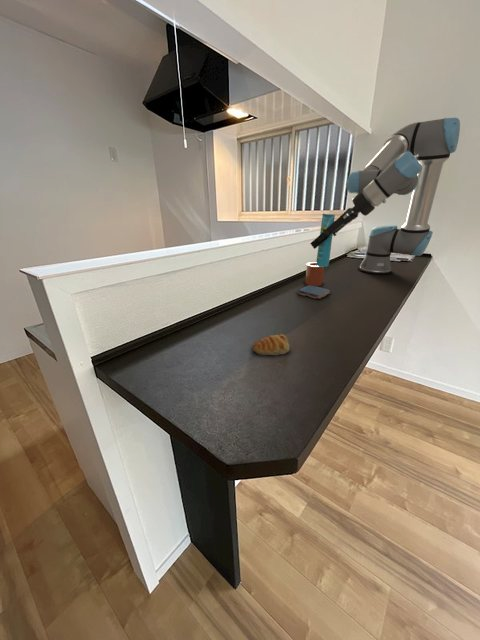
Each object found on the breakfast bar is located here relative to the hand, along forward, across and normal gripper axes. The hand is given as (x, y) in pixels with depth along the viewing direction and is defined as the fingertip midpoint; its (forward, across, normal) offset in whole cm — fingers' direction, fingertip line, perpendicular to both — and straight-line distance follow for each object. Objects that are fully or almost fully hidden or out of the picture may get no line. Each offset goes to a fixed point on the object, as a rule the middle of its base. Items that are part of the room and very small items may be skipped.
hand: (315, 244), depth 103 cm
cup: (+16, +13, -12) cm, 24 cm away
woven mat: (+13, -1, -16) cm, 20 cm away
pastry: (+9, -50, -20) cm, 54 cm away
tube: (+3, 0, -8) cm, 9 cm away
